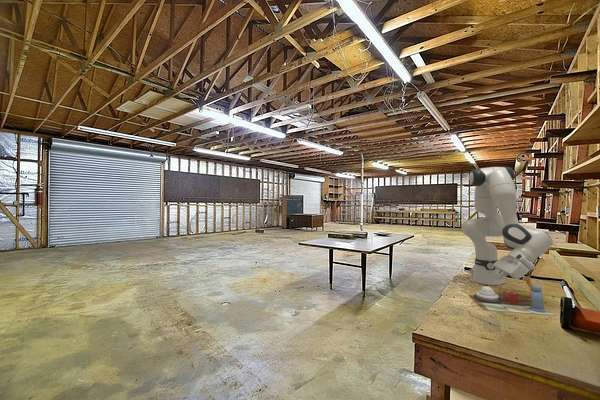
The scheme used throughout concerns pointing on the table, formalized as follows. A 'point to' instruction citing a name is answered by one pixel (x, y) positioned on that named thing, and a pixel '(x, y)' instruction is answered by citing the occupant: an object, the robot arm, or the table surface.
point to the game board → (507, 306)
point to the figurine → (528, 282)
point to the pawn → (537, 299)
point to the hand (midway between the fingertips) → (496, 278)
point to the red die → (511, 296)
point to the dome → (487, 293)
